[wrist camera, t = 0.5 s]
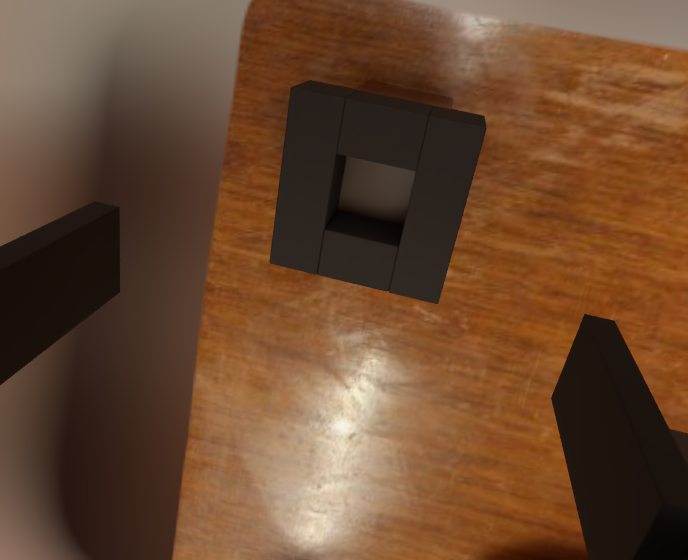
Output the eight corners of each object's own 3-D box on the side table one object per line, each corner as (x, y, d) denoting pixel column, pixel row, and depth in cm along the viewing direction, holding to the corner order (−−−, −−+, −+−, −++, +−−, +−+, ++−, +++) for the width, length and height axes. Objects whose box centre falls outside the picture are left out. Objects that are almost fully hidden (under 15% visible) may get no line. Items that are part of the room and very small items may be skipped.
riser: (367, 80, 33) (339, 97, 26) (453, 98, 33) (448, 120, 25) (347, 195, 36) (316, 239, 29) (424, 213, 36) (413, 262, 29)
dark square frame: (309, 79, 26) (290, 86, 23) (485, 115, 25) (486, 127, 22) (287, 241, 29) (269, 263, 27) (441, 277, 29) (438, 304, 26)
